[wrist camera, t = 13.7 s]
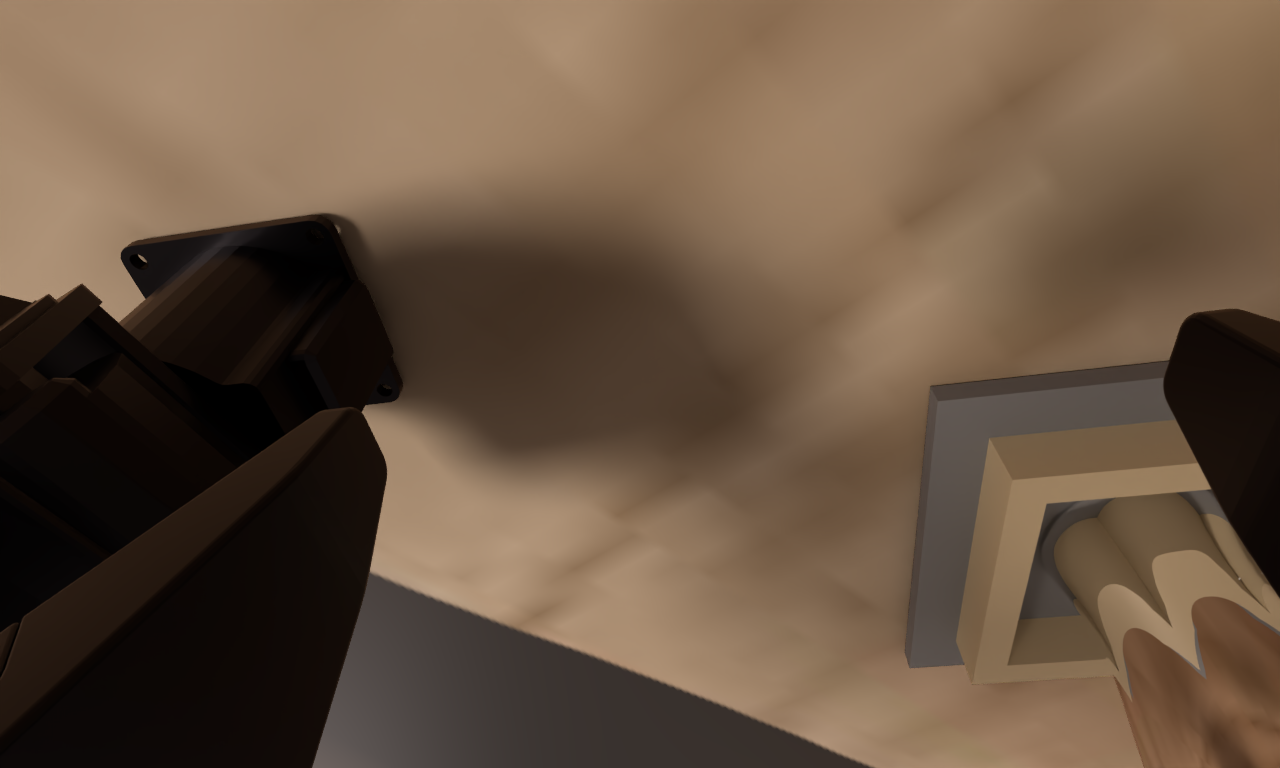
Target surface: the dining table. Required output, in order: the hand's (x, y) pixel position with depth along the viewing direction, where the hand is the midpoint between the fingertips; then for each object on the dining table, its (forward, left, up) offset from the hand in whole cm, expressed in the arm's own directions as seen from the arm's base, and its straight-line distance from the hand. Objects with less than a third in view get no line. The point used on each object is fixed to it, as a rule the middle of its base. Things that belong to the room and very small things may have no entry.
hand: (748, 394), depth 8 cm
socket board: (+14, -18, -13) cm, 26 cm away
